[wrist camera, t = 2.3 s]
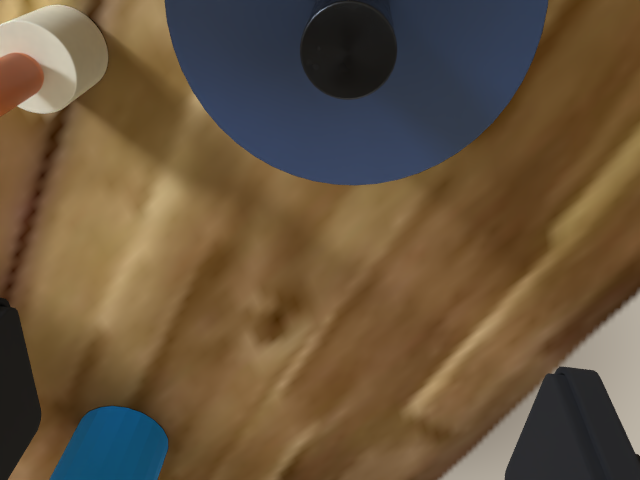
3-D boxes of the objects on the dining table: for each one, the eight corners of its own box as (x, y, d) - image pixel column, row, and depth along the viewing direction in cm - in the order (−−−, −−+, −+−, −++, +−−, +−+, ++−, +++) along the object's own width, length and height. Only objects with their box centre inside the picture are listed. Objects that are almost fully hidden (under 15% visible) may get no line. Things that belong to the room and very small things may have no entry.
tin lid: (181, 156, 24) (128, 235, 19) (161, -242, 18) (70, -297, 12) (490, 188, 24) (526, 277, 19) (594, -201, 17) (697, -238, 12)
